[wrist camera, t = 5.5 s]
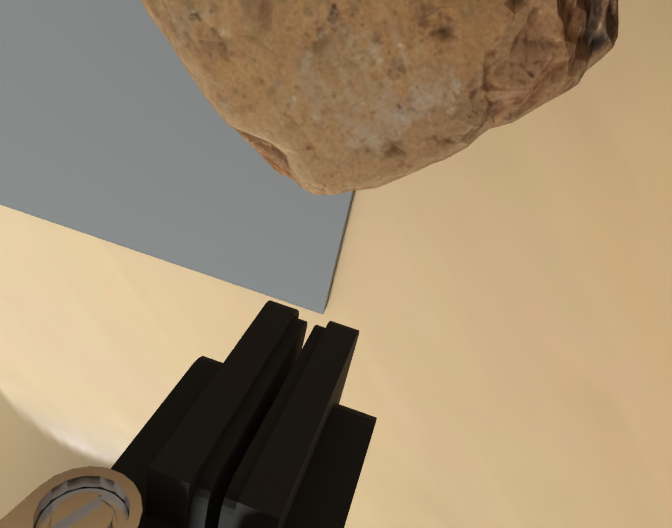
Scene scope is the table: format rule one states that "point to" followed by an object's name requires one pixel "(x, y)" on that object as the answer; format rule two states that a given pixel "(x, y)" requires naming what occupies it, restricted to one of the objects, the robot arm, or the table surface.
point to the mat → (149, 154)
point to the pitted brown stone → (379, 75)
